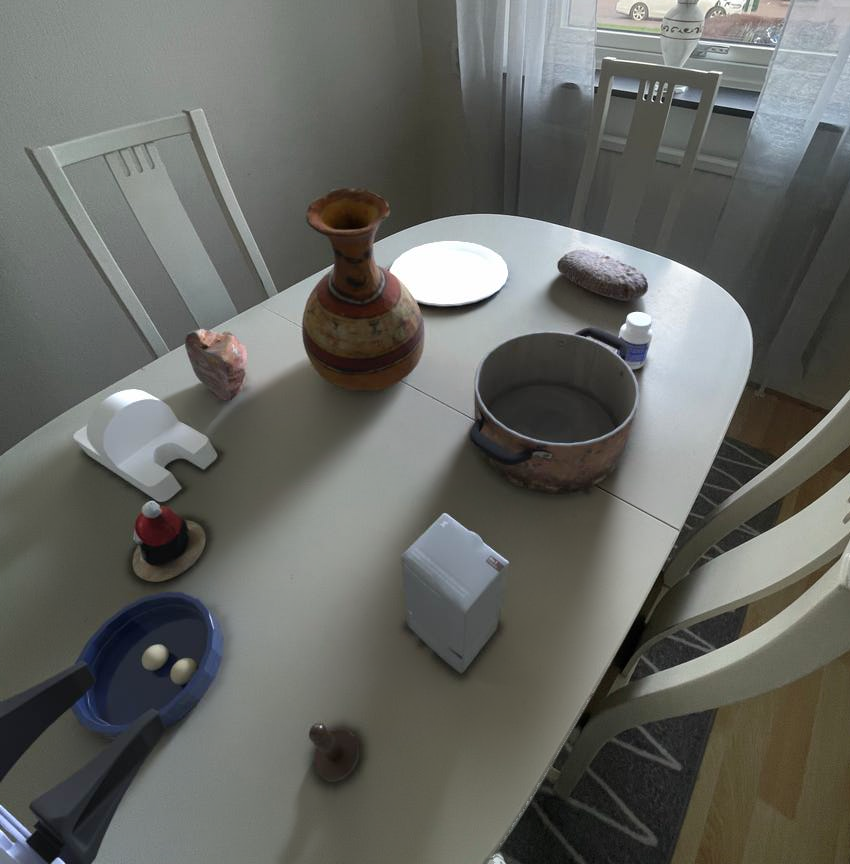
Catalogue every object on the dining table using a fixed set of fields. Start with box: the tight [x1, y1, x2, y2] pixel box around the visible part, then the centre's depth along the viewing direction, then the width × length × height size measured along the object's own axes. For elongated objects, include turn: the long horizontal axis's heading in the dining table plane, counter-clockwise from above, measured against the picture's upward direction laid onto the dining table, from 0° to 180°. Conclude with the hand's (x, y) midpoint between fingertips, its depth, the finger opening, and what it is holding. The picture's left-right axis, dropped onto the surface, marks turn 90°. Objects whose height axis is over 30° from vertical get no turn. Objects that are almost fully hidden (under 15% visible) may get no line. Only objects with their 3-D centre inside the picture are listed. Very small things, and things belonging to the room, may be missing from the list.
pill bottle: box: [614, 311, 653, 370], centre depth 87 cm, size 5×5×9 cm
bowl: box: [70, 591, 224, 741], centre depth 54 cm, size 13×13×4 cm
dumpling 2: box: [170, 658, 197, 685], centre depth 53 cm, size 2×2×2 cm
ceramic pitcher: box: [301, 187, 425, 392], centre depth 79 cm, size 20×20×30 cm
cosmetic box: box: [400, 513, 510, 674], centre depth 52 cm, size 8×7×16 cm
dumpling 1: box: [142, 644, 169, 670], centre depth 54 cm, size 2×2×2 cm
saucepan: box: [469, 326, 640, 494], centre depth 74 cm, size 30×22×11 cm
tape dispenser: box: [73, 389, 218, 503], centre depth 72 cm, size 10×18×11 cm, turn 60°
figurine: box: [132, 500, 206, 583], centre depth 62 cm, size 8×10×12 cm
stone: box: [184, 328, 248, 402], centre depth 83 cm, size 13×8×10 cm
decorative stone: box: [556, 249, 649, 301], centre depth 105 cm, size 20×14×5 cm
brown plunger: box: [308, 722, 360, 783], centre depth 46 cm, size 4×4×10 cm
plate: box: [389, 240, 509, 308], centre depth 109 cm, size 25×25×1 cm
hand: (123, 693), depth 36 cm, fingers open, 7 cm apart
